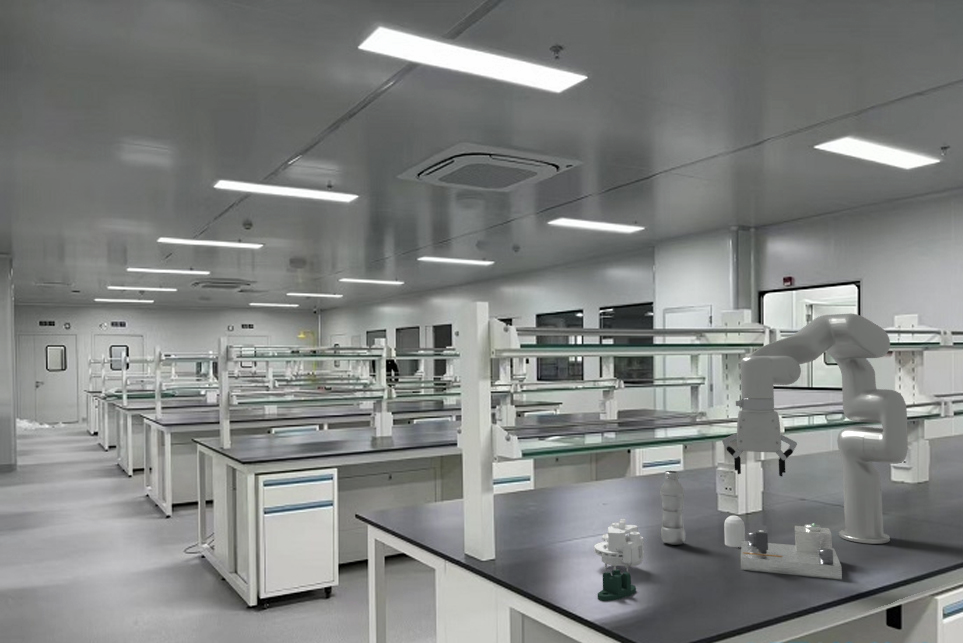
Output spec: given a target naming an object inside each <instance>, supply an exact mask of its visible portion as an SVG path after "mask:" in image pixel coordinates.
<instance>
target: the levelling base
mask: <svg viewBox="0 0 963 643" xmlns="http://www.w3.org/2000/svg"><path fill="white" fill-rule="evenodd" d="M746 534H747V536H746V537H747V540H745V541H742V545H741V547H740V570H741V571H752V572H760V573H761V572H762V573H771V574H774V573H775V574H783V575H791V576H801V577H812V578H822V579H823V578H824V579H832V580H843V571H842V570H843V569H842V568H843V567H842V564H841V562H840V560H839V557H838V555H837V552H836V550H835V548H833V544H832V543H833V542H832V532H831V529H830V528H828V527H821V525H819V524H817V523H815V522H813V523H805V524H804V525H802V526H801V525H794V543H795V544H786V543H785V544H784V543H774V542H773V543H771V542H768V550H767V553H766V554H761V553H758V549H756V531H747V533H746Z"/></svg>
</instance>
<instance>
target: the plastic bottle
mask: <svg viewBox="0 0 963 643" xmlns="http://www.w3.org/2000/svg"><path fill="white" fill-rule="evenodd" d="M679 475H680V474H679V471H676V470H665V471H664V479H665V481H664V482H663V484H662V485H661V487H660V489H659V491H660V492H659V493H660V499H661V503H662V504H661V505H662V506H661V507H662V521H661V522H662V523H661V530H660V537H661V541H662V542H663V543H665V544H669V545H671V546H674V545H682V544H684V543H685V540H686V536H687V535H686V529H685V527H684V526H685V524H684V513H683V511H684V500H685V499H684V498H685V489H684V486H682V484H681V483H680V480H679V479H680V476H679Z"/></svg>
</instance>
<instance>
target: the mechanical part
mask: <svg viewBox="0 0 963 643" xmlns="http://www.w3.org/2000/svg"><path fill="white" fill-rule="evenodd" d="M626 521H627V520H626V519H624V518H623V519H622V518H620V519H619V521H618V522H612V523H611V525H610V526H608V527H607V533H604V534H602V536H601V540H602V541H601V542H598V543H596V544H594V546H593V547H594V548H593V549H594V550H593V551H594V553H595V554H596V555H598V556H600V557H601V562H602V563H604V569H605V570H607V569H608V565H610V566H612V567H613V570H616V569H617V566H618V567H621V566H623V567H624V568H625V572H629V567H630V568H636V567H637V566H639V565H641V564H642V562H643V561H644V557H645V547H644V546H645V543H644V537H643V536H641V533H640V532H639V527H638V525H635V524H626V523H627V522H626Z"/></svg>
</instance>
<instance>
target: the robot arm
mask: <svg viewBox="0 0 963 643" xmlns="http://www.w3.org/2000/svg"><path fill="white" fill-rule="evenodd" d="M890 347H891V339H890V337H889V334H888V333H887V331H886V330H885V329H883V328H882V327H881V326H879V325H878V324H876V323H874V322H873V321H871V320H869V319H868V318H866V317H864V316H862V315H859V314H856V313H839V314H825V315H823V314H822V315H820V316H818V317H816V318H814V319H812V320H811V321H810V322H809V323H807V324H806V325H805V326H804V327H802V328H800V329H799V330H798V331H796V332H795V333H794V334H792V335H789V336H787V337H784V338H781V339H778V340H776V341H773V342H770V343H767V344H765V345H763V346H761V347H759V348H757V349H756V350H755V351H753V352H752V353H751V354H749V355H748V356H746V357H743V358H742V359H741V361H740V380H741V381H740V386H741V387H740V389H741V390H740V391H741V399H740V400H735V406H736V407H740V408H741V410H739V411H738V414H737V424H736V433H734V434H731V435H729V436H726V437H725V438H723V439H722V442H721V443H722V444H723V445H724V448H725V449H726V451H727V452H728V453H729V454H730V455H731V456H732V457H733V460H734V471H737V475H740V474H742V469H741V468H742V467H741V466H742V465H741V464H742V462H741V458H742V457H740V455H741V454H742V453H743V452H748V453H749V452H751V453H775V454H776V455H778V476H779V477H781V478H782V477H783V474H784V473H786V460H787V459H788V458H789V457H790V456H791V455H792V454H793V453H794V451H795V449H796V447H797V445H798V442H797V441H795V440H794V439H791V438H789V437H787V436H785V435H783V434H782V432H781V431H782V430H781V424H780V417H779V412H778V411H776V410H775V399H774V398H775V394H774V391H775V390H774V389H775V388H774V386H789V385H792V384H795V383H796V382H797V381H798V380H799V379H800V377H801V374H802V368H801V365H802V364H803V365H804V364H807V363H811V362H814V361H816V359H818V358H819V357H821V356H822V355H823V354H824V353H827V354H828V355H829V356H830V357H831V358H832V359H833V360H834V361H835V363H836V364H837V366H838V368H839V371H840V374H841V384H842V385H841V386H842V387H841V390H842V410H843V415H844V416H845V418H846V419H848V420H850V421H853V422H860V423H862V422H863V423H872V424H881V427H882V428H880V427H873V426H871V427H870V426H857V425H856V426H852V425H851V426H848V427H845V428H842V429H841V430H840V431H839V433H838V434H837V435H838V436H837V440H836V441H837V448H838V451H839V456H840V460H841V469H842V487H843V488H842V489H843V511H844V529H841V530H840V531H839V532H838V536H839V537H840V538H842V540H843V539H844V540H847V541H851V542H856V543H860V544H861V543H862V544H869V545H870V544H873V545H876V544H877V545H879V544H882V545H883V544H886V543H889V542H891V538H890V535H888V534H887V533H884V521H883V520H884V519H883V502H882V501H883V497H882V496H883V495H882V478H881V474H880V472H879V470H878V468H877V466H876V465H875V464H874V462H875V463H881V464H893V465H896V464H901V463H902V462H904V461H905V460H906V458H907V456H908V451H909V450H908V448H909V446H908V445H909V444H908V443H909V441H908V440H909V438H908V437H909V436H908V410H907V404H906V401H905V398H904V397H903V395H902V394H901V393H900V392H899V391H897V390H893V389H886V388H885V389H884V388H883V389H880V388H877V382H876V372H875V368H874V367H873V366H872V364H871V362H870V361H869V360H868V359H879V358H882V357H884V356H886V355H887V353H888V352H889V350H890ZM734 440H736V447H737V449H734V448H733V447H732V446H731V444H730V443H731V442H733V441H734ZM782 441H783V442H784V443H786V444H788V448H787V449H786V450H785V451H784V452H783V451H782V450H781V449H782Z"/></svg>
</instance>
